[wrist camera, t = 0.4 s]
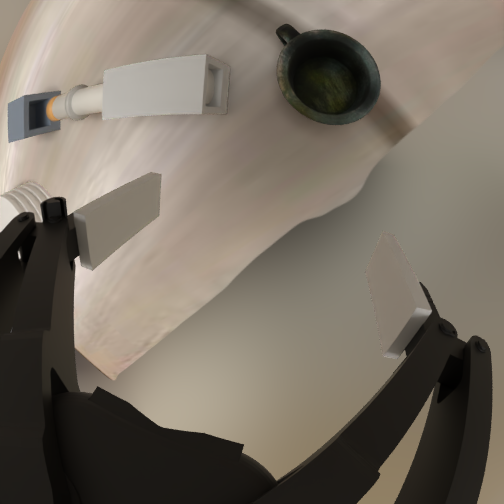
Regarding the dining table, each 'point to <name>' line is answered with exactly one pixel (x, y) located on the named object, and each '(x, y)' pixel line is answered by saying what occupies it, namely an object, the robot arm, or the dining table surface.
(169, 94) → the sleeve
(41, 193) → the plate stack
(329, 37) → the mug
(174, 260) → the dining table surface
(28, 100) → the socket
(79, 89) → the tube
